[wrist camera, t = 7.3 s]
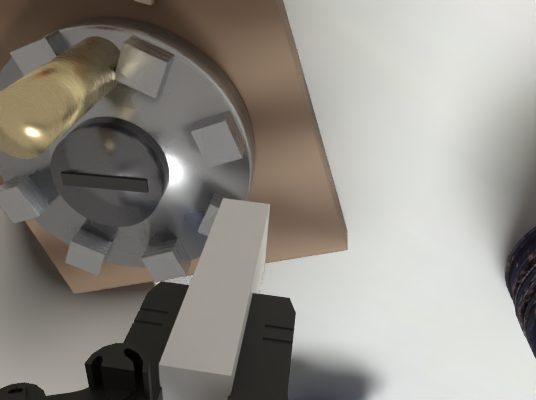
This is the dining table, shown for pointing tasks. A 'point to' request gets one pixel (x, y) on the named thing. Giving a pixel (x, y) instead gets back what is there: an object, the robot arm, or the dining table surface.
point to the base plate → (254, 98)
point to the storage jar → (524, 285)
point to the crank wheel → (121, 143)
